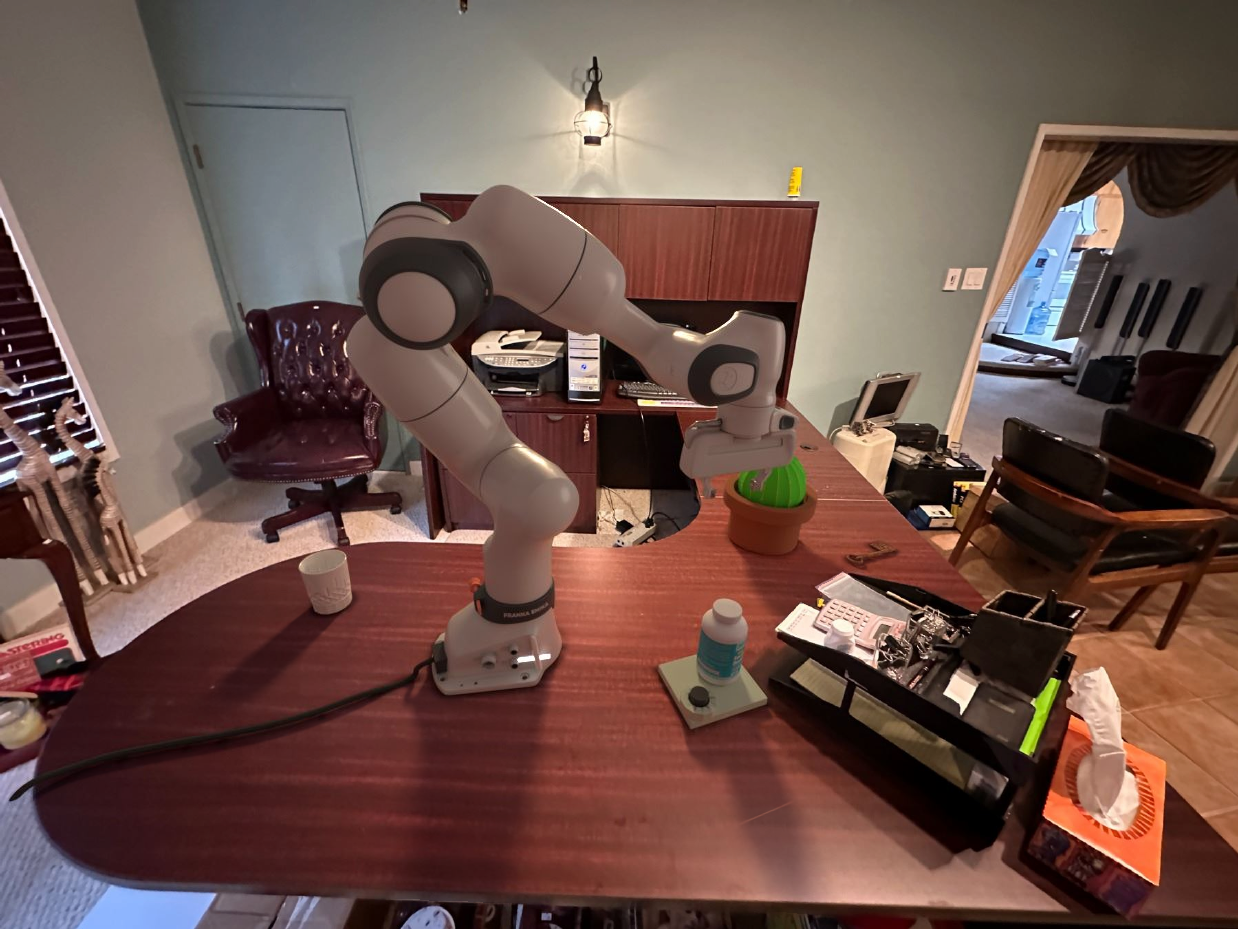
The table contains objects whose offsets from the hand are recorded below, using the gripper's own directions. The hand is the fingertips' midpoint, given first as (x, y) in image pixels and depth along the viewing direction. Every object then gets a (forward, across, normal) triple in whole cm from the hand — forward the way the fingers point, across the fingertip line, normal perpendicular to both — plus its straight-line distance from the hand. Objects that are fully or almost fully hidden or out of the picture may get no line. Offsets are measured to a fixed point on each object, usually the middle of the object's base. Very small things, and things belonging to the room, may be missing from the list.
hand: (732, 493), depth 85 cm
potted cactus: (+29, +29, +24) cm, 48 cm away
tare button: (+27, -13, -16) cm, 34 cm away
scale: (+29, -8, -13) cm, 33 cm away
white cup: (+29, -69, +29) cm, 80 cm away
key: (+29, +50, +9) cm, 59 cm away
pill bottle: (+28, -6, -11) cm, 31 cm away
